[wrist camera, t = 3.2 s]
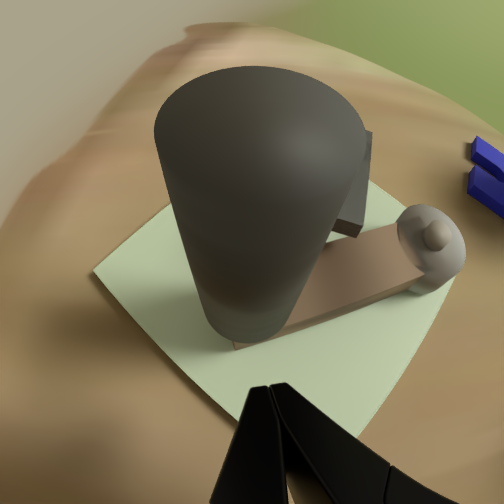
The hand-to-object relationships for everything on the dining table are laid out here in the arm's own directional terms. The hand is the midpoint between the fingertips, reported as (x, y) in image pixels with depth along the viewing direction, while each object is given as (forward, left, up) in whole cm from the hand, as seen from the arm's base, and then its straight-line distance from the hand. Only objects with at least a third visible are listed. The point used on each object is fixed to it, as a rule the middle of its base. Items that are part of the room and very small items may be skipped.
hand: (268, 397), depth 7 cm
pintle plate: (+7, +3, -8) cm, 11 cm away
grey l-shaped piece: (+7, 0, -7) cm, 10 cm away
